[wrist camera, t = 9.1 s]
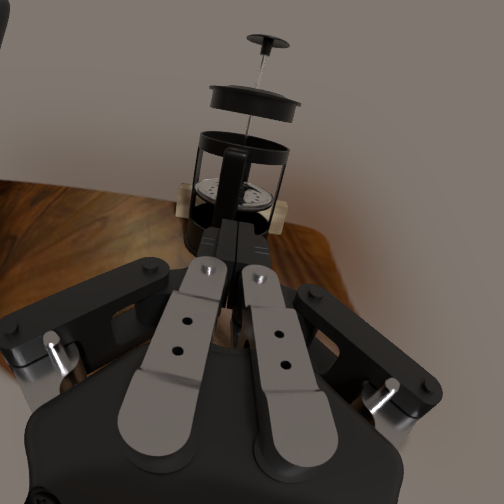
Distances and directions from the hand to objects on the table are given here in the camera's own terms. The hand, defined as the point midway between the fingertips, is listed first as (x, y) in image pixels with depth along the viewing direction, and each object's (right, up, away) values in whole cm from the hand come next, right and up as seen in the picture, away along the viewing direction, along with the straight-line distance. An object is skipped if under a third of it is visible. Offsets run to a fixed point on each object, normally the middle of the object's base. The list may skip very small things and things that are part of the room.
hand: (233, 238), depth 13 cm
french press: (-2, 0, +18) cm, 18 cm away
